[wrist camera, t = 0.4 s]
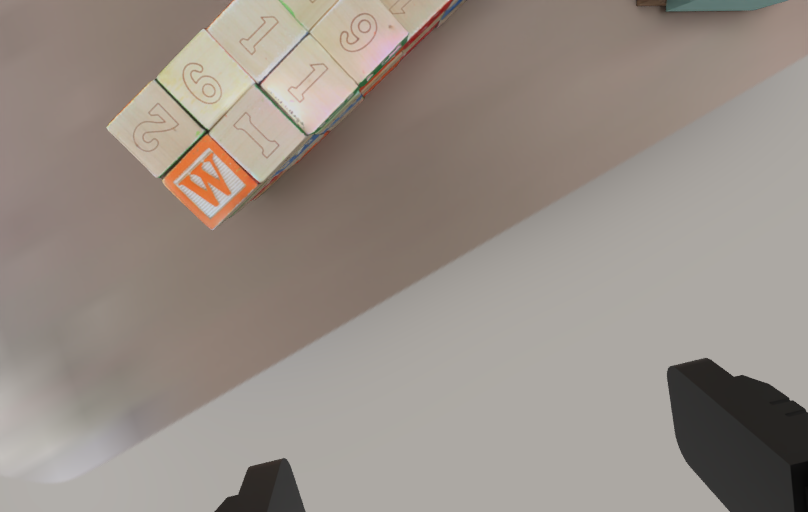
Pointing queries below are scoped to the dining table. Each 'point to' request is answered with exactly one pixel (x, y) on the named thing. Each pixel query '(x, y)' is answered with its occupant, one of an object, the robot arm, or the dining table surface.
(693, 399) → the robot arm
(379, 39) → the stack of blocks
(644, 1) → the wooden rail tray
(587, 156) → the dining table surface
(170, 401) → the dining table surface
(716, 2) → the block
